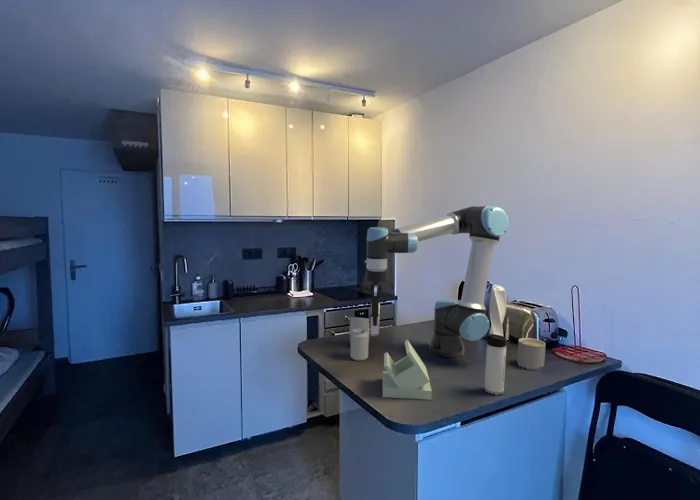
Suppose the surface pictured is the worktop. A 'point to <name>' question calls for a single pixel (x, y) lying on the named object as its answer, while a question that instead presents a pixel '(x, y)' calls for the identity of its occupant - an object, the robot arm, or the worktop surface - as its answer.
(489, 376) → the travel mug
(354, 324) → the smart speaker
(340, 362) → the worktop surface
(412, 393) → the socket
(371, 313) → the dowel
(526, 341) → the coffee mug
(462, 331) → the robot arm
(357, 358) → the can
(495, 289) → the skyscraper
